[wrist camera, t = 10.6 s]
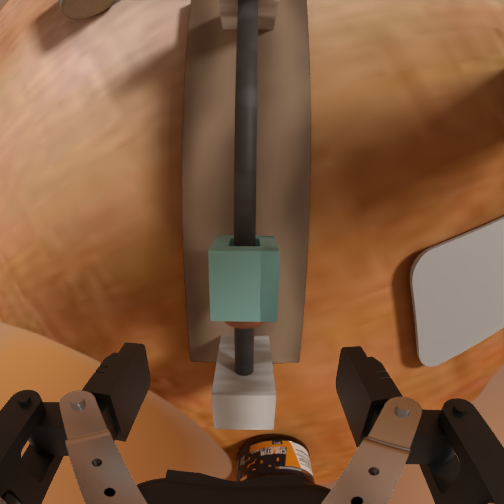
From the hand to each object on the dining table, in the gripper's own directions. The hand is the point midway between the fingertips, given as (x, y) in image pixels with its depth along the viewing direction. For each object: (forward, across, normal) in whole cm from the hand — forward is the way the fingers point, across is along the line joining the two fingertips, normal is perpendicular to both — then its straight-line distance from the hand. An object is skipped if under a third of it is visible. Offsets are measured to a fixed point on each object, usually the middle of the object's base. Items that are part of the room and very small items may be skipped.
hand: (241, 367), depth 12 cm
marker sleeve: (+15, 0, 0) cm, 15 cm away
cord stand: (+20, 0, -8) cm, 22 cm away
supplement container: (+20, -4, +30) cm, 37 cm away
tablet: (+21, -32, +4) cm, 38 cm away
